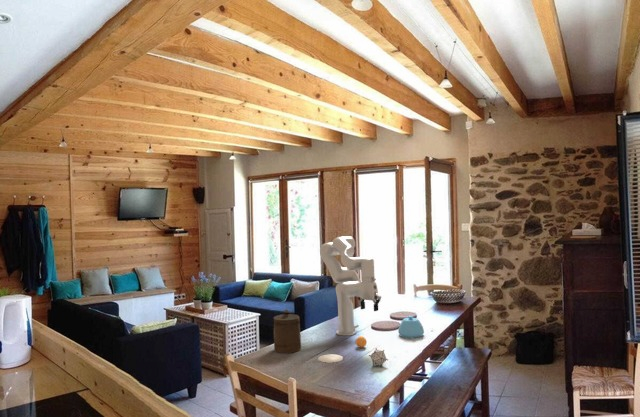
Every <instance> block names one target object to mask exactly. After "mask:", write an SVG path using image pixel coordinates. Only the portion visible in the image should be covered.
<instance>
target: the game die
mask: <svg viewBox="0 0 640 417" xmlns="http://www.w3.org/2000/svg"><path fill="white" fill-rule="evenodd" d="M368 357H370V358H371V361H372V366H374V365H376V366H379V367H380V368H382V365H384V363H386V361H389V359H388V358H387V357H386V353H385V349H383V350H380V349H378V348H375V350H374V351H373V352H372V353H371V354H368Z"/></svg>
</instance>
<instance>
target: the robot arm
mask: <svg viewBox="0 0 640 417" xmlns="http://www.w3.org/2000/svg"><path fill="white" fill-rule="evenodd" d="M355 247H356V241H355V239H354V237H352V236H349V235H347V236H337V237H335V238H334V239H333V240H332V241H330V242H325V243H323V244H322V245H320V248H319V254H320V257H321V258H320V259H322V261H323V263H324V264H325V265H326V268H327V269H328V271H329V274H330V276H331V278H332V279H331V280H332V281H333V282H334V283H335V284H336V285H335V293H336V300H337V317H338V323H337V324H338V330H336V331H335V332H336V334H337V335H339V336H346V337H347V336H353V335H355V334H357V333H358V331H357V330H356V329H357V328H359V326H360V325H359V323H357V324H355V321H354V320H355V319H354V318H355V317H354V316H355V315H354V304H353V301H352V300H351V298H352V297H357V299H358V301H359V303H360V310H364V309H366V302H365V300H366V301H372V303H373V312H378V311H379V304H380V302H381V299H382V295H380V294H379V291H378V284H377V282H376V280H377V279H376V278H375V260H374V258H372V257H368V256H358V257H357V256H355V257H353V256H354V254H355ZM335 256H341V257H340V260H338V259H337V258H336V257H335ZM340 261H341V262H340ZM342 265H343V266H344V267H343V266H342ZM357 271H360V274H361V276H360V277H359V275H358V272H357ZM360 278H361V279H360Z"/></svg>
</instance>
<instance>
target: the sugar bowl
mask: <svg viewBox="0 0 640 417" xmlns="http://www.w3.org/2000/svg"><path fill="white" fill-rule="evenodd" d="M424 333H425V330H424V326H423V325H422V322H421V321H420V320H419V318H416V317H414V315H408V316H407V317H404V318H403V319H402V321H400V323H399V326H398V334H399V336H400V337H402V338H405V339H406V338H407V339H418V338H422V336H423V335H424Z"/></svg>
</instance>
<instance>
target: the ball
mask: <svg viewBox="0 0 640 417" xmlns="http://www.w3.org/2000/svg"><path fill="white" fill-rule="evenodd" d="M355 345H356V346H357V347H358V348H364V347H365V346H366V345H367V339H366V338H365V337H364V336H358V337H356V339H355Z"/></svg>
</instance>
